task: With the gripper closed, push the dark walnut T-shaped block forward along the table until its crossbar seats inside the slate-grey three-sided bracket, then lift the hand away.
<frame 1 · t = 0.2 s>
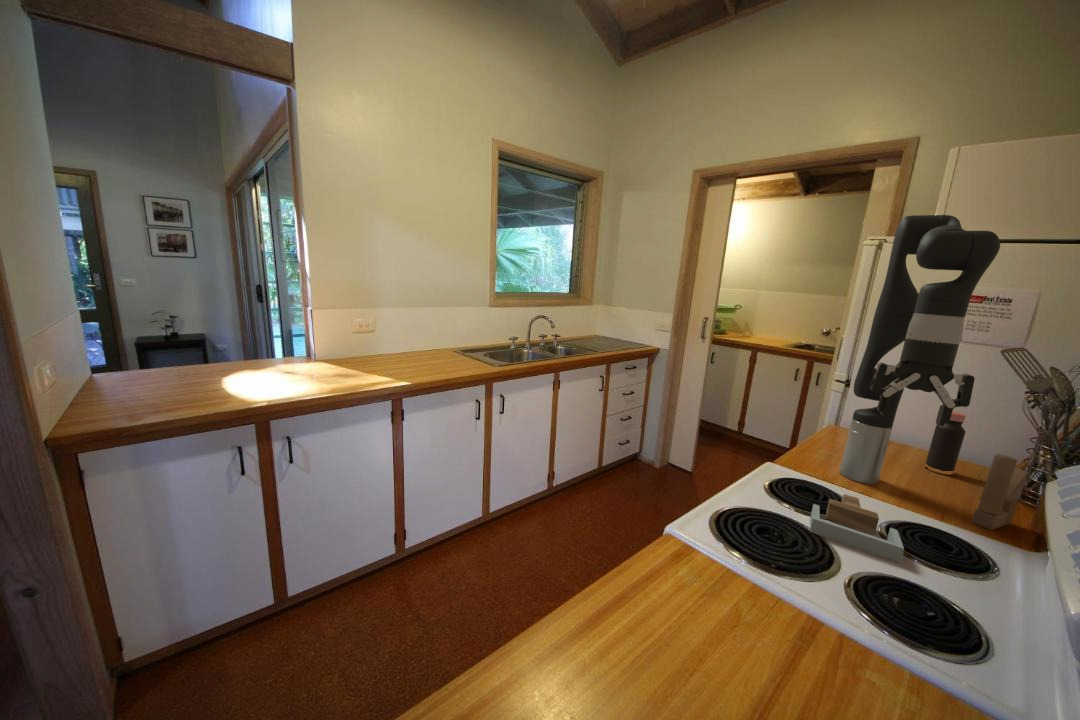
hand: (910, 419, 80), 28 cm above the worktop, tool pointing down, fingers open, 8 cm apart
bottle: (938, 471, 132), on the worktop
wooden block: (990, 524, 100), on the worktop
t block: (848, 518, 96), on the worktop
bracket: (851, 535, 89), on the worktop
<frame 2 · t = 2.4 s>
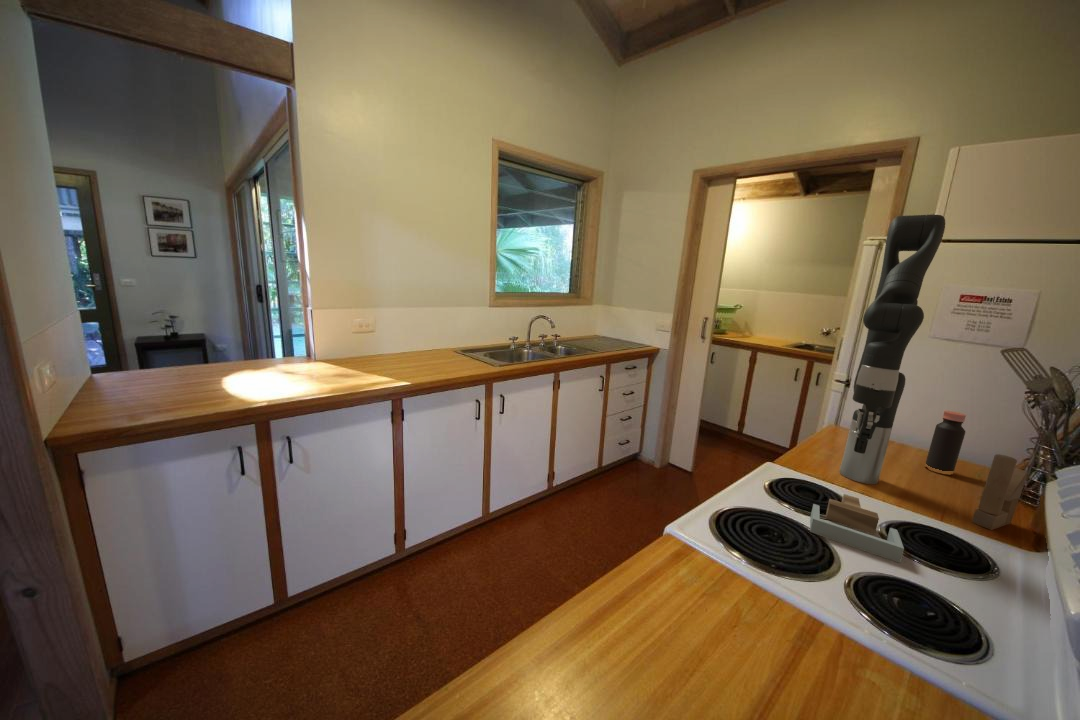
hand: (858, 452, 101), 14 cm above the worktop, tool pointing down, fingers closed
nothing on the worktop moved.
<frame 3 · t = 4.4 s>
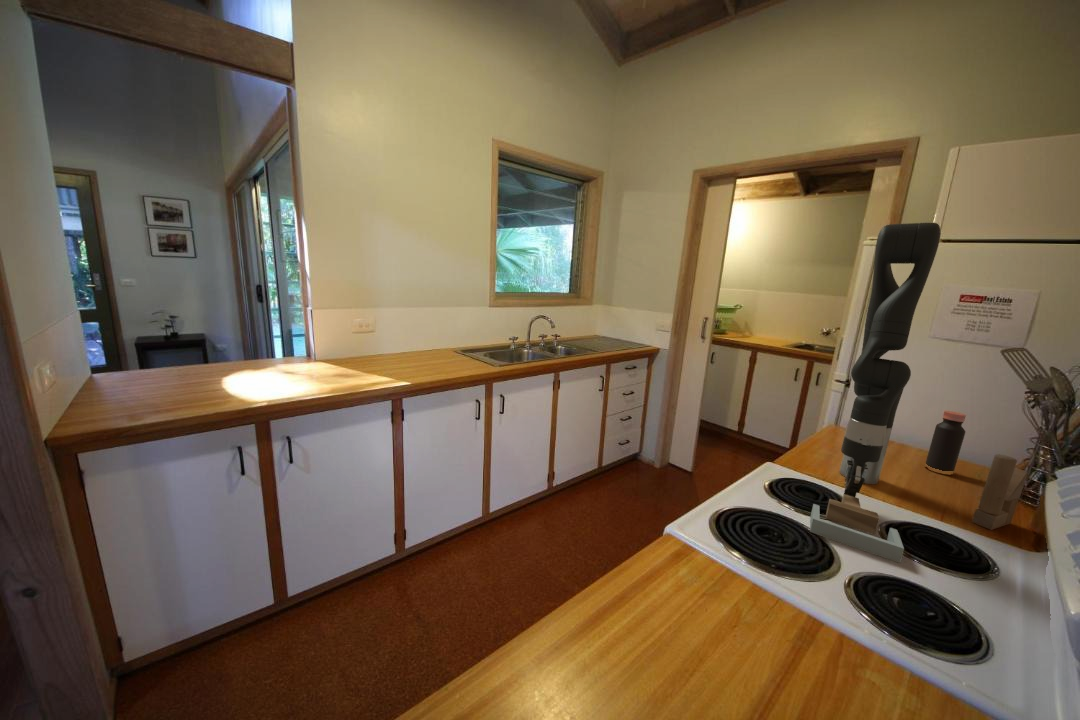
hand: (847, 503, 101), 1 cm above the worktop, tool pointing down, fingers closed
t block: (848, 518, 96), on the worktop, touching gripper
everything else where it was.
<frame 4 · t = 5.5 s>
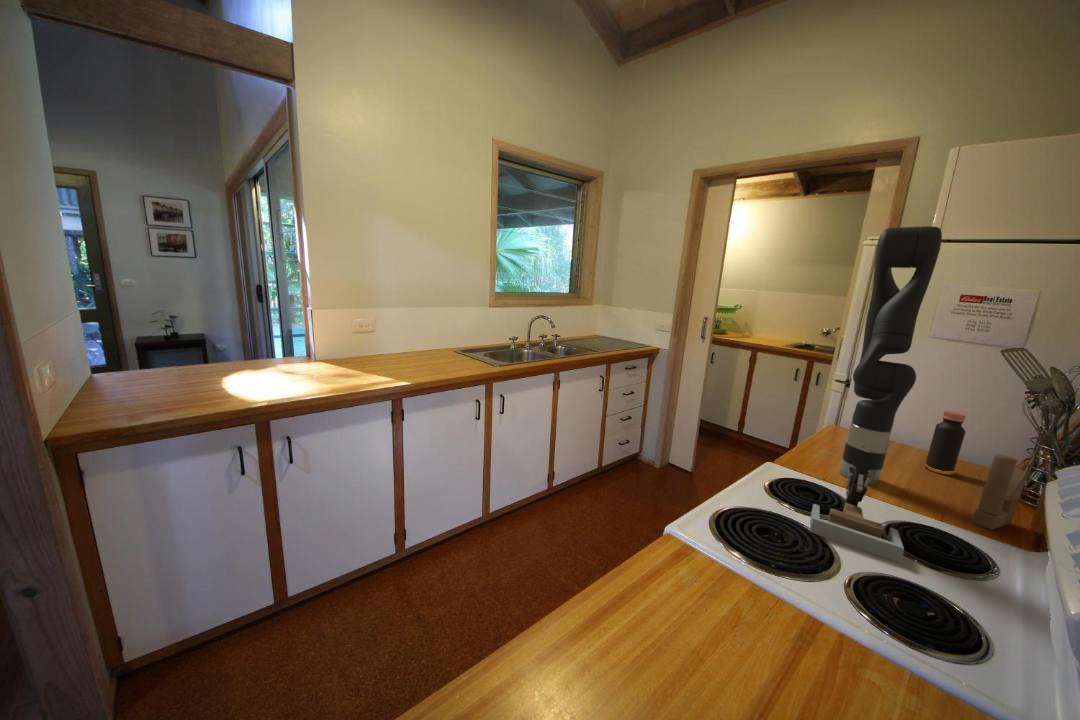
hand: (849, 512, 97), 1 cm above the worktop, tool pointing down, fingers closed
t block: (850, 529, 91), on the worktop, touching gripper
everything else where it was.
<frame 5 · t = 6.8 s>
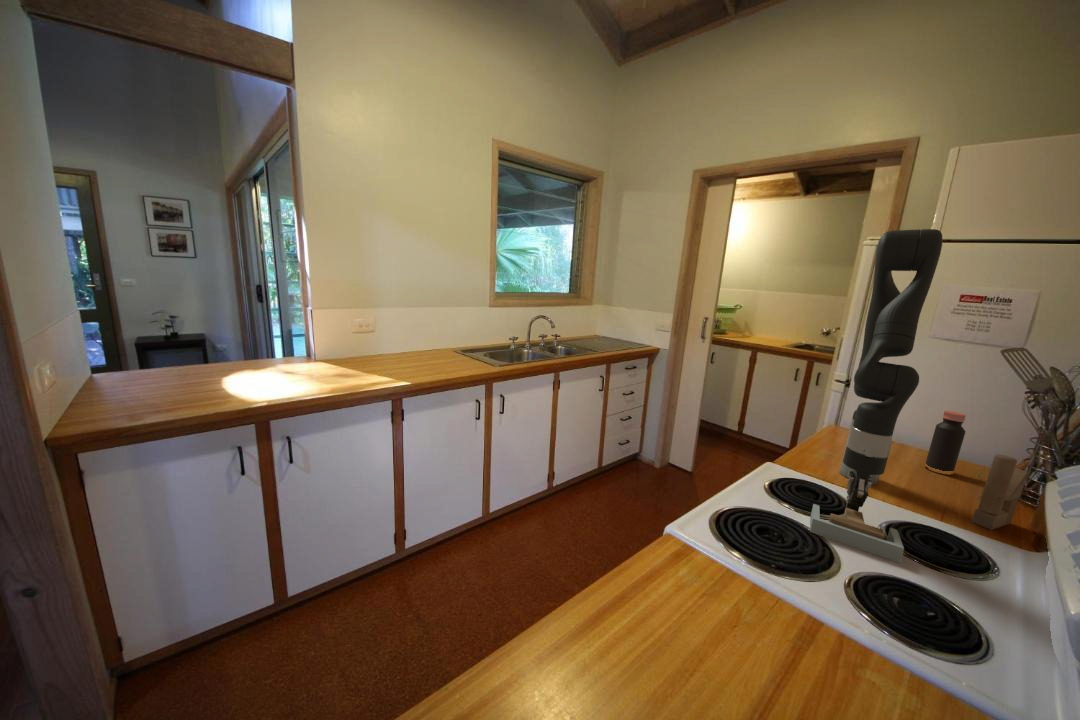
hand: (849, 517, 95), 1 cm above the worktop, tool pointing down, fingers closed
t block: (851, 534, 89), on the worktop, touching bracket, gripper
everything else where it was.
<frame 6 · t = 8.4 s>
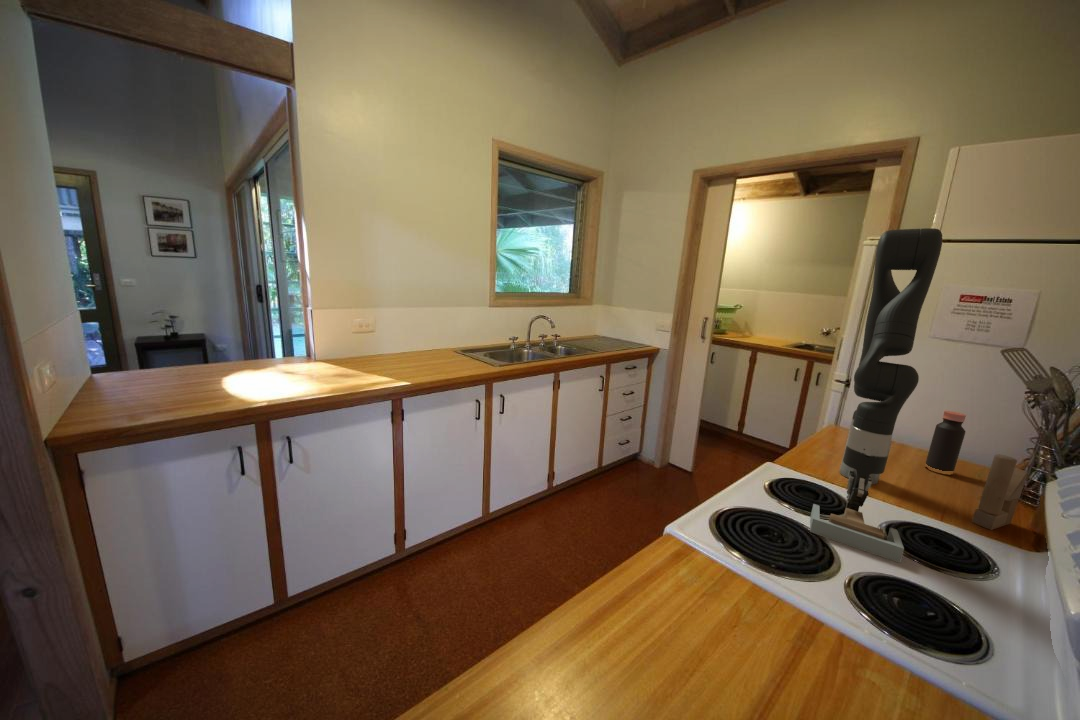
hand: (849, 517, 94), 1 cm above the worktop, tool pointing down, fingers closed
nothing on the worktop moved.
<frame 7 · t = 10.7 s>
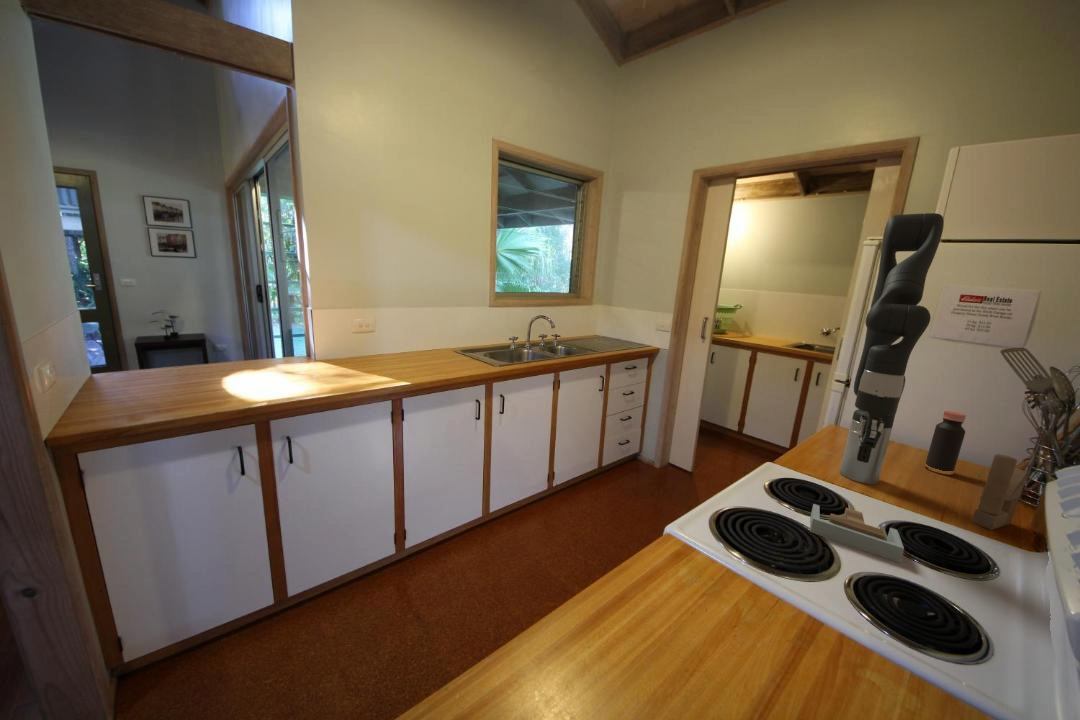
hand: (862, 460, 96), 14 cm above the worktop, tool pointing down, fingers closed
t block: (851, 534, 89), on the worktop
everything else where it was.
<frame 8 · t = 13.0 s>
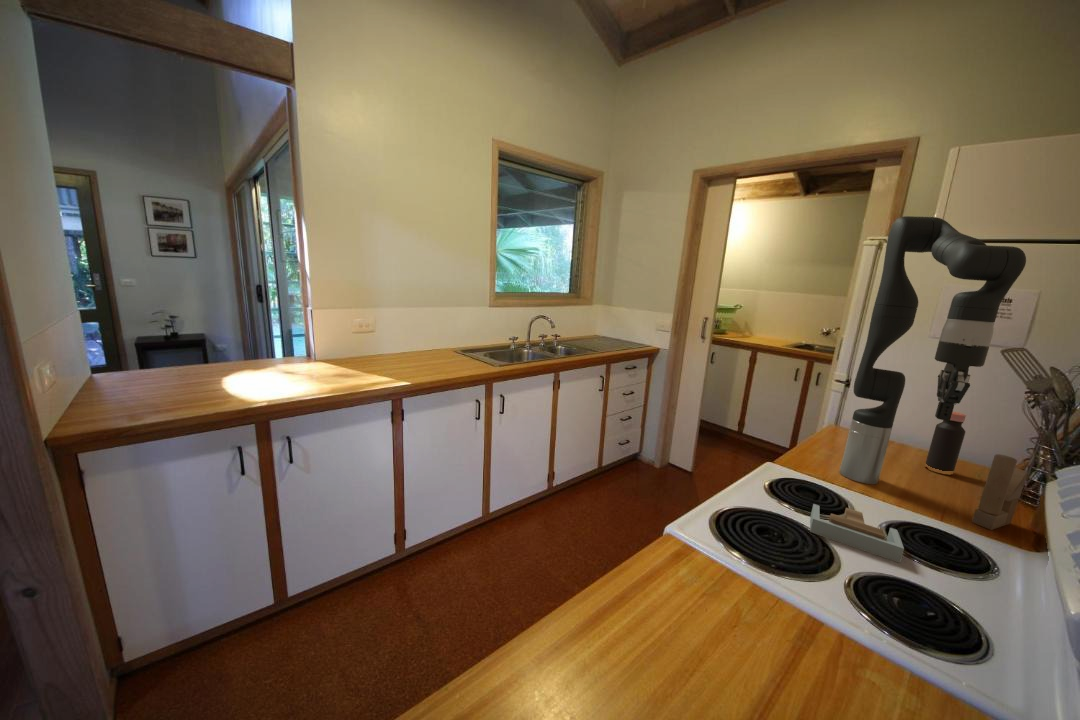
hand: (942, 419, 89), 27 cm above the worktop, tool pointing down, fingers closed
nothing on the worktop moved.
at the end: t block 0.3 cm from the target spot, on the worktop; t block tilted 0°; the gripper is holding nothing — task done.
